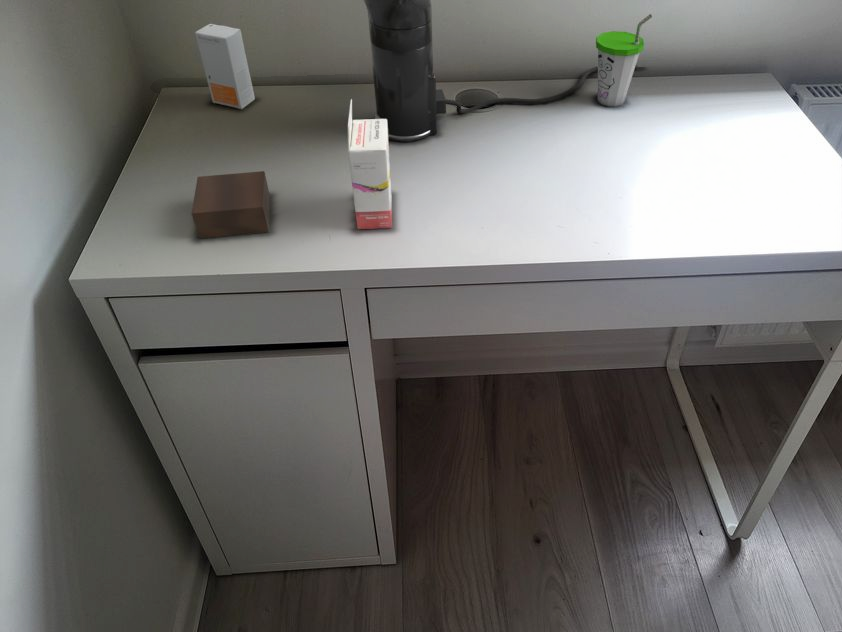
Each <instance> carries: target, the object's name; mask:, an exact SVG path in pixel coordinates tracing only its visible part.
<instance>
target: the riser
mask: <svg viewBox="0 0 842 632" xmlns="http://www.w3.org/2000/svg"><path fill="white" fill-rule="evenodd" d="M270 198H271V194H270V190H269V186H268V181H267V175H266V171H264V170H261V171H260V170H259V171H250V172H237V173H236V172H235V173H226V174H225V173H224V174H214V175H212V174H211V175H202V176H197V178H196V185H195V189H194V196H193V201H192V208H191V217H192V221H193V222H194V225H195V226H194V227H195V230H196V232H197V236H198V238H199V239H210V238H211V239H212V238H220V237H233V236H243V235H252V234H253V235H254V234H263V233H269V232H270V231H269V230H270V205H271V204H270V203H271V199H270Z"/></svg>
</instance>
